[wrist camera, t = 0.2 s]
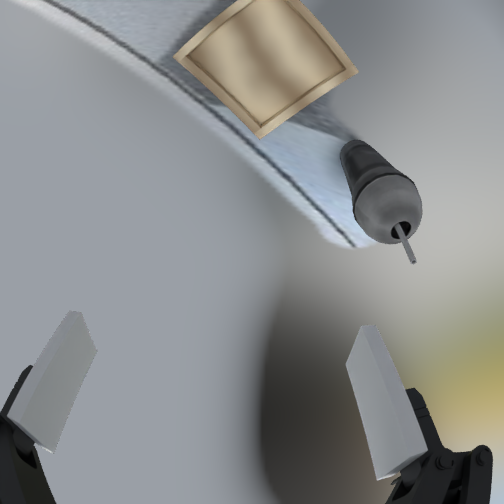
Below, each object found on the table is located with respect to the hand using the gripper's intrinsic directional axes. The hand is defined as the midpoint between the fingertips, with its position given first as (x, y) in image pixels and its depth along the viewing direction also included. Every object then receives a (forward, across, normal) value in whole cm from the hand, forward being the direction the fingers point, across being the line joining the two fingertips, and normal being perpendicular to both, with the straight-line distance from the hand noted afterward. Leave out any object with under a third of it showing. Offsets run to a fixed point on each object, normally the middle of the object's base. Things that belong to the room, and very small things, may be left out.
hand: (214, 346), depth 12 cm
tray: (+23, +3, +17) cm, 29 cm away
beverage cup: (+26, +15, +6) cm, 31 cm away
